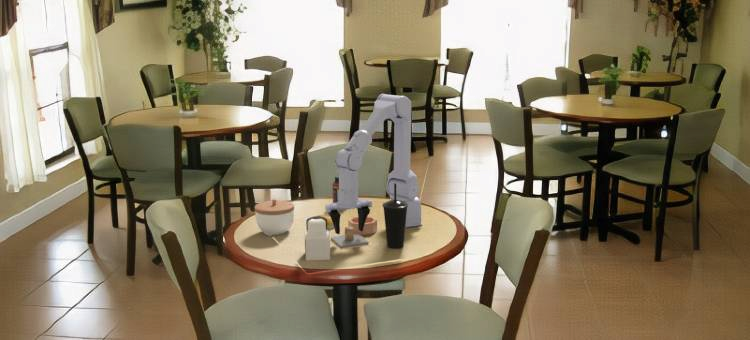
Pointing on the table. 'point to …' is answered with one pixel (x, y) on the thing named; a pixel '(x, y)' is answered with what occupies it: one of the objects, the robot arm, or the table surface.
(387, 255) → the table surface
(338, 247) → the mat
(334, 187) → the supplement bottle
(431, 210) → the table surface
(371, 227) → the bowl
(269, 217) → the lidded bowl
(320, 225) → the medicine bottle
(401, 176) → the robot arm
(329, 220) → the bread roll
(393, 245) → the drinking cup
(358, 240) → the lid
